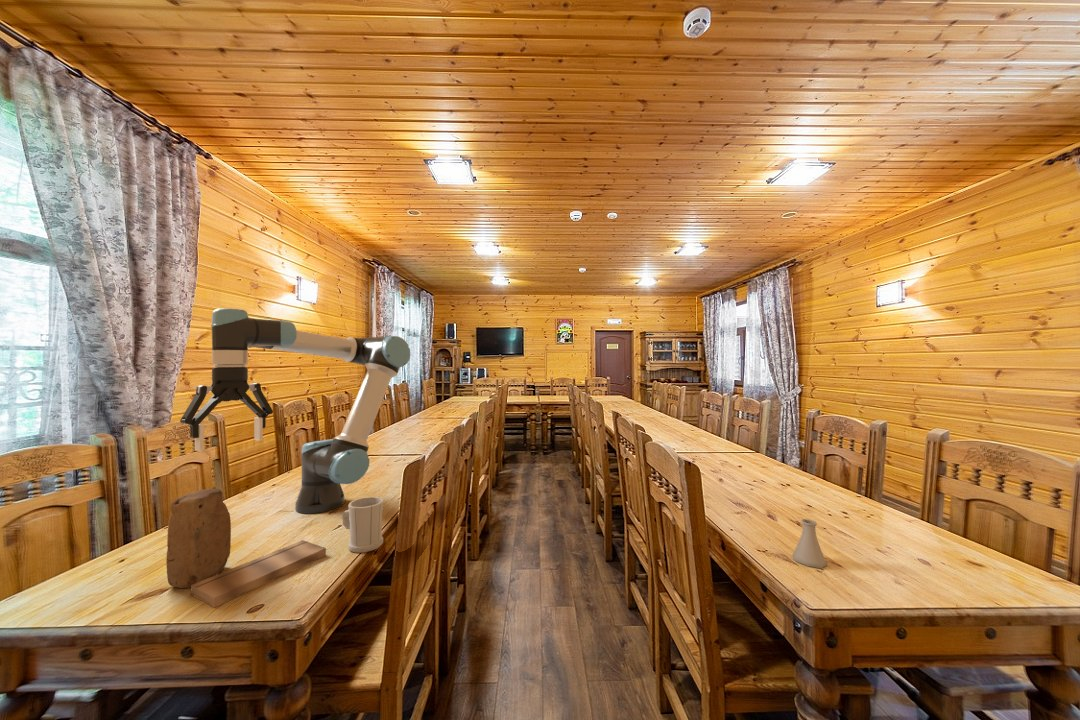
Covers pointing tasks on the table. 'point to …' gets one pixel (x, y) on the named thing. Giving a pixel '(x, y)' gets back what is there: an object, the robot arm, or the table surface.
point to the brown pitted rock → (197, 537)
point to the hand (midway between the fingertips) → (230, 445)
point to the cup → (364, 524)
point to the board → (256, 573)
